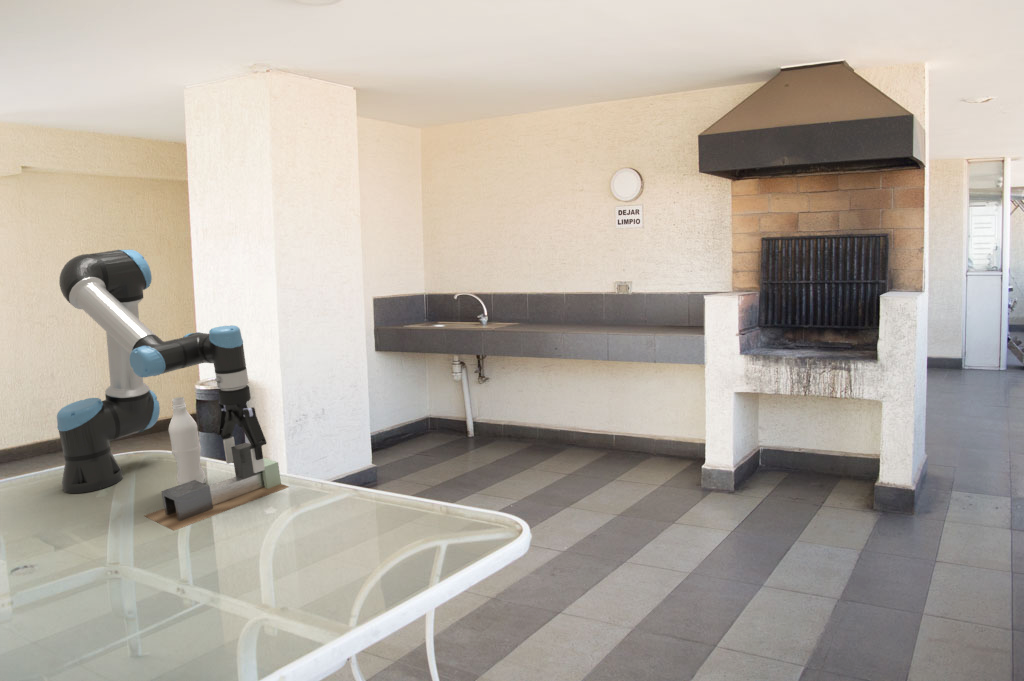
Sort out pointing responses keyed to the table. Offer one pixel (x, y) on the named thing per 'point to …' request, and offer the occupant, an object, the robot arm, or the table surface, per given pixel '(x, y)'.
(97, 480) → the robot arm
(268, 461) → the socket block
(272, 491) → the base board
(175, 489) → the sleeve
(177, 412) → the water bottle
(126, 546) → the table surface
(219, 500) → the rod
